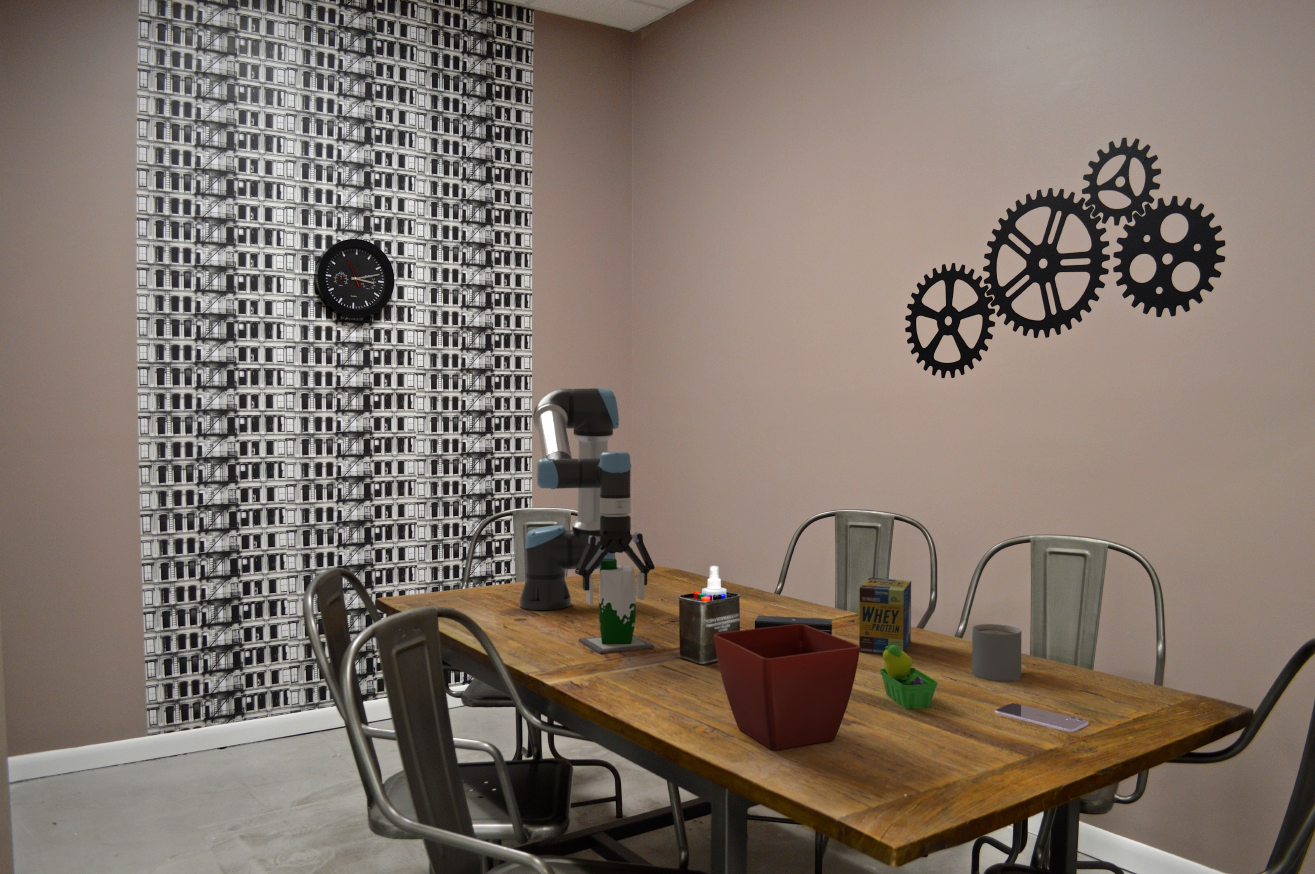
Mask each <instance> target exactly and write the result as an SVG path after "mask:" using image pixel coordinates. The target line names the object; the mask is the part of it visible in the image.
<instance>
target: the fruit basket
mask: <svg viewBox="0 0 1315 874" xmlns="http://www.w3.org/2000/svg"><path fill="white" fill-rule="evenodd" d="M885 648H886V650H885V651H884V653H883V654H882V658H883V665H884V666H883V667H884V668H880V669H879V672H880V675H881V678H882V681H883V686H884V689H885V693H886V696H888V697H889V698H891V699H892V701H894V702H896V703H897V704H898V705H899V706H901V707H902V708H904V709H906V710H907V709H922V708H931V706H932V705H931V704H932V701H933V698H934V696H935V695H934V694H935V692H936V688H937V686H938V681H936V680H935V679H934V678H932V677H930V676H928V675H927V674H925V673H924V672H922V671H920V670H919V669H917V668H916V667H912V665H913V659H912V657H911V656H909V655H908V654H907V653H906V652H905V653H904V652H903V651H901V650H900V648H899V647H898V646H896V645H891V646H886V647H885Z"/></svg>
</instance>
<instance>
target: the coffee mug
mask: <svg viewBox="0 0 1315 874" xmlns="http://www.w3.org/2000/svg"><path fill="white" fill-rule="evenodd" d="M971 630H972V632H971V633H972V635H971V641H972V643H971V644H972V645H971V649H972V651H971V652H972V653H971V655H972V656H971V666H972V667H971V674H972V675H973V676H974V677H976V678H979V679H982V680H985V681H992V682H1008V683H1009V682H1016V681H1018V680H1021V679H1022V630H1021V629H1020V628H1019V627H1015V626H1011V625H1007V624H999V623H997V624H995V623H983V624H974V625H973V626H972V629H971Z"/></svg>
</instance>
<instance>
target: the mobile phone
mask: <svg viewBox="0 0 1315 874" xmlns="http://www.w3.org/2000/svg"><path fill="white" fill-rule="evenodd" d="M994 713H995V714H997V715H1000V716H1005V717H1007V718H1012V719H1016V720H1020V721H1022V722H1023V721H1025V722H1029V723H1032V724H1036V725H1040V726H1042V727H1043V726H1044V727H1047V728H1050V729H1056V730H1060V731H1063V732H1069V733H1071V732H1076V731H1078V730H1080V729H1082V728H1085V727H1087V726H1088V725H1089V721H1087V720H1086V719H1084V718H1078V717H1075V716H1070V715H1066V714H1061V713H1057V712H1054V711H1049V710H1045V709H1040V708H1037V707H1032V706H1028V705H1025V704H1019V703H1014V702H1013V703H1012V702H1011V703H1009V704H1006V705H1004V706H1001V707H998V708H996V709H995V710H994Z"/></svg>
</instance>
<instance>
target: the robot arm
mask: <svg viewBox="0 0 1315 874" xmlns="http://www.w3.org/2000/svg"><path fill="white" fill-rule="evenodd" d="M618 407H619V406H618V402H617V397H616V395H615V393H614V392H613V390H611V389H609V388H600V387H599V388H595V387H594V388H559V389H555V390H553V391H550V392H548V393H547V394H545V395H544V396H543V397H542V398H540V400H539V401H538V403H537V404H536V405H535V407H534V411H533V415H532V420H533V424H534V427H535V429H536V430H537V431H538V436H539V437H538V438H539V443H540V450H541V457H542V458H540V459H539V460H537V461H536V462H537V463H536V482H537V483H536V484H537V487H539V488H540V489H550V490H557V489H558V490H559V489H560V490H561V489H577V518H576V520H574V521H573V523H572V528H571V530H566V527H565V525H563V524H562V525H561V524H560V525H549V526H542V527H537V528H534V529H531V530H529V531H528V532H527V533H526V535H525V546H524V549H525V581H524V584H523V588H522V591H521V595H520V597H519V607H521V609H525V610H531V611H532V610H533V611H552V610H554V611H555V610H562V609H565V608H568V607H570V606H571V605H572V596H571V594H570V590H569V587H568V584H567V581H566V570H567V571H568V570H574V573H575V574H576V575H578V576H581V577H582V589H583V591H585V603H586V604H588V605H589V606H591V605H594V577H593V576H592V575H593V573H594V572H595V570H598V569H599V570H600V568H601V566H600V562H601V560H602V559H615V556H616V553H618V554H623V553H625V554H626V555H627V556H628V558H629V559H630V560H631V561H632V562H633V564H634V565H635V567H637V569H638V570H639V571H636V598H637V599H639V600H641V601H644V600H645V586H648V574H649V573H650V571H653V570H654V569H656V567H655V565H654V562H653V560H652V558H651V556H650V554H649V552H648V549H647V547H646V545H645V543H644V536H643V534H642V533H640V532H635V533H633V534H631V529H632V528H631V525H632V524H631V521H632V520H631V516H630V515H629V514H630V513H631V512H632V511H631V510H632V509H631V504H632V503H631V499H632V498H631V497H632V496H631V472H632V471H631V470H632V464H631V455H630V453H629V452H627V451H608V447H609V446H608V445H609V444H608V442H609V439H611V438H612V437H613V435H614V430H616V429H618V428H619V426H620V425H619V424H620V423H619V422H620V418H619V416H620V415H619V408H618ZM567 429H573V435H574V436H575V438H576V439H577V440H578V458H573V457H572V452H571V447H570V442H569V437H568V433H567ZM632 541H633V543H635V546H636V548H637V550H638V552H639V554H640V557H641V558H642V560H643V561H642V560H641V559H640V558H639V556H638V555H637V554H636V552H634V550H633V548H632V547H631V545H630V544H631V542H632Z"/></svg>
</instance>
